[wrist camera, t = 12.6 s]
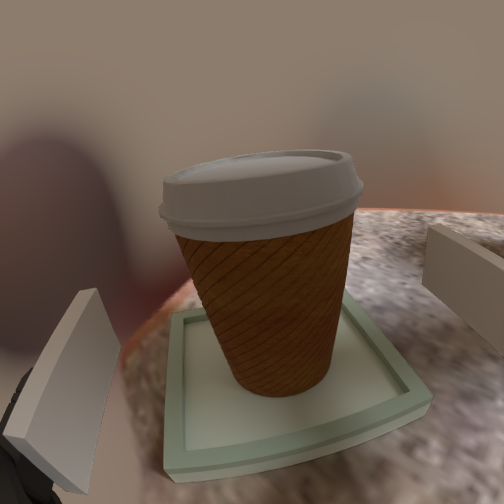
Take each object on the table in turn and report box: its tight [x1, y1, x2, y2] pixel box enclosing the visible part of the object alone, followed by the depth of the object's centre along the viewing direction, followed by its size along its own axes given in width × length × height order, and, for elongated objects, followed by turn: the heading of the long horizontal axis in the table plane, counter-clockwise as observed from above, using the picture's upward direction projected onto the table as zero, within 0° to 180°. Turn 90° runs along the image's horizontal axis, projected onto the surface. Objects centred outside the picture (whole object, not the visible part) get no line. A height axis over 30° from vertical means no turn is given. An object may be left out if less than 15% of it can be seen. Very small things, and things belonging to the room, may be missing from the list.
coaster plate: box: [163, 288, 434, 483], centre depth 18 cm, size 14×14×2 cm
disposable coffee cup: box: [159, 150, 364, 397], centre depth 16 cm, size 10×10×12 cm
